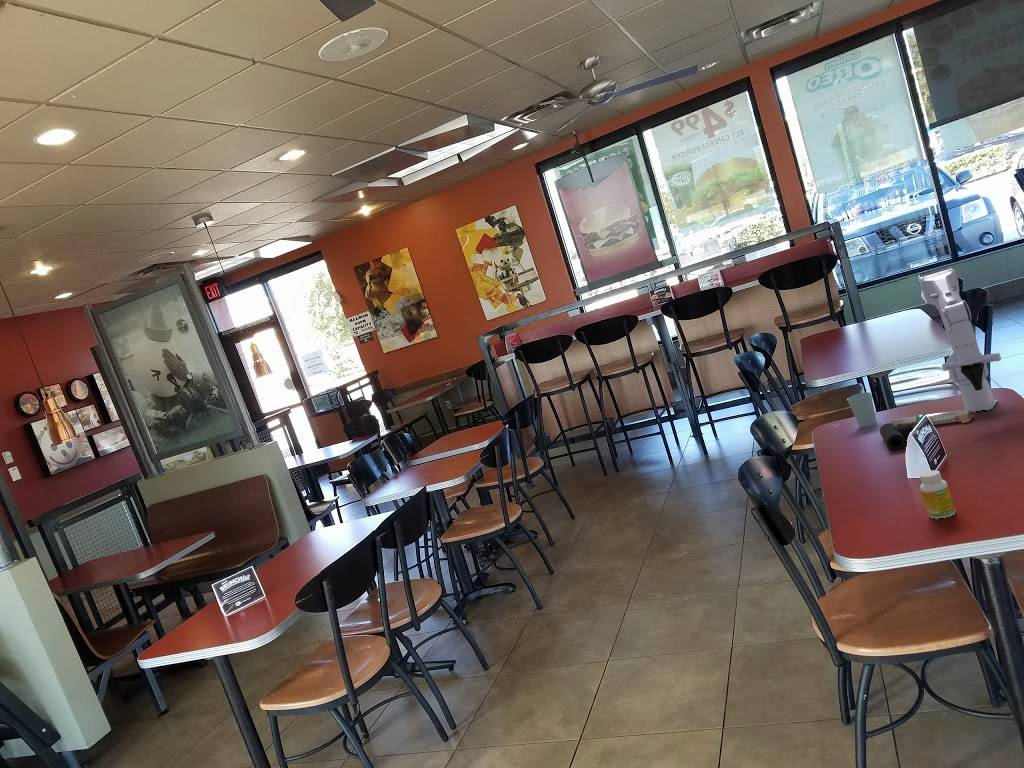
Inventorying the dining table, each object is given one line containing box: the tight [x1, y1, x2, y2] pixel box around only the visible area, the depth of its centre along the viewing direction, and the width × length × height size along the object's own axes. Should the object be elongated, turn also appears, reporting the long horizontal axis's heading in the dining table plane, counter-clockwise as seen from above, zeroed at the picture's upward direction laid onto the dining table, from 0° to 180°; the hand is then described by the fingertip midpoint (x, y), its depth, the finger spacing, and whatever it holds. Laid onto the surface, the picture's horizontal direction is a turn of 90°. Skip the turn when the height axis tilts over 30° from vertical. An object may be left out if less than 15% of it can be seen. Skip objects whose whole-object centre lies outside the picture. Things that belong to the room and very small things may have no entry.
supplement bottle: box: [919, 470, 957, 520], centre depth 169 cm, size 5×5×10 cm
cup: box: [846, 391, 877, 429], centre depth 260 cm, size 8×8×10 cm
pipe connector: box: [879, 421, 919, 452], centre depth 229 cm, size 12×5×15 cm
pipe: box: [889, 408, 974, 427], centre depth 236 cm, size 22×5×4 cm, turn 47°
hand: (979, 389), depth 220 cm, fingers closed
